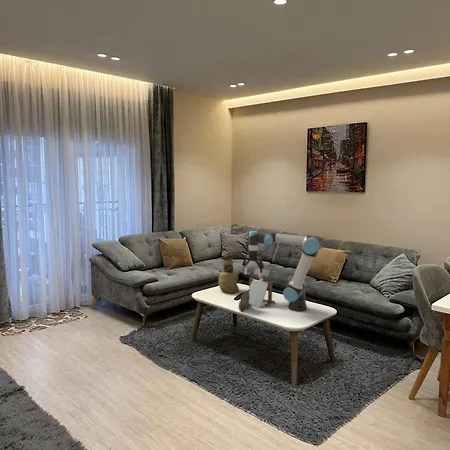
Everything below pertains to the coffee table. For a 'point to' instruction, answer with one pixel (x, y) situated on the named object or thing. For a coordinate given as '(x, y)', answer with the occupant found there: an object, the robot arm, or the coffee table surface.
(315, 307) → the coffee table surface
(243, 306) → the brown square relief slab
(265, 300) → the trapdoor frame
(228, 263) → the ceramic vessel
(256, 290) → the trapdoor
